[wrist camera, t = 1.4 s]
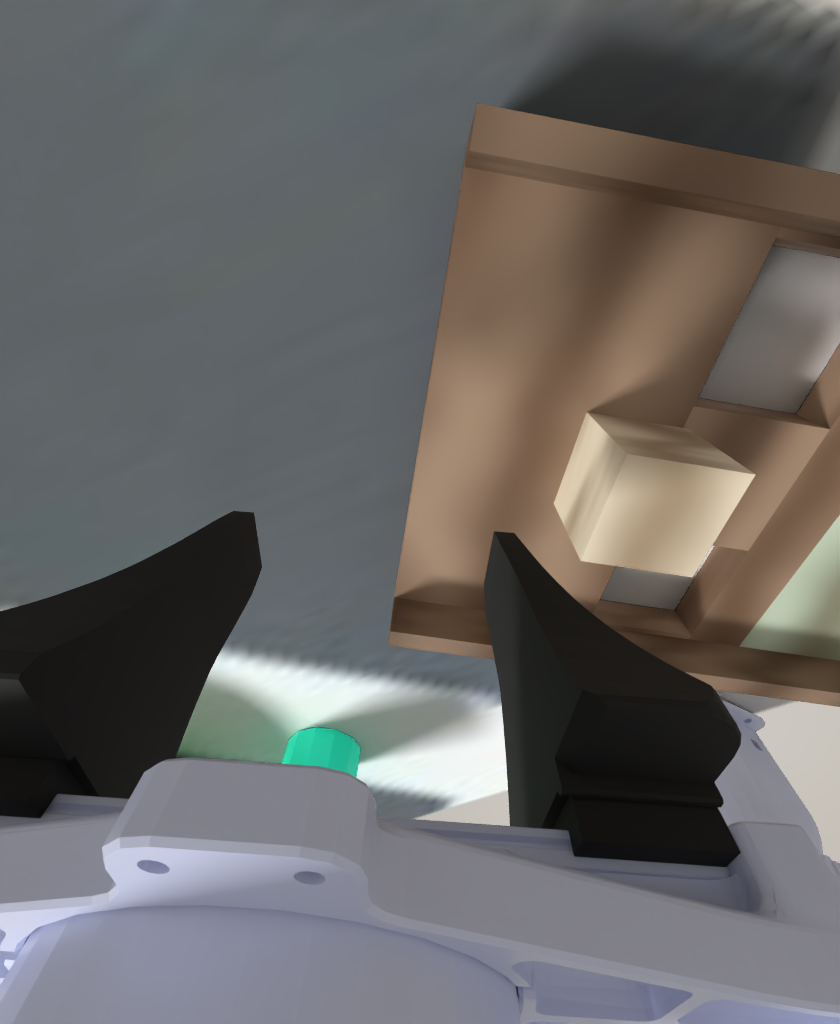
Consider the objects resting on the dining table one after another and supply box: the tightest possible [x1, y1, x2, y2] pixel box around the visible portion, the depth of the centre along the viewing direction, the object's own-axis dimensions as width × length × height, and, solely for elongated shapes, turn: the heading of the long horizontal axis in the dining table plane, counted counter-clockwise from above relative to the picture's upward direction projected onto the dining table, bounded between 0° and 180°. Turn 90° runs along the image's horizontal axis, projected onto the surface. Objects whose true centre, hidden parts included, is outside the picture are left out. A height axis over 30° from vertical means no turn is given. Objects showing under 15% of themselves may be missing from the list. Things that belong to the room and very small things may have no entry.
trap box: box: [388, 103, 840, 707], centre depth 19 cm, size 28×21×5 cm
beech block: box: [554, 412, 756, 578], centre depth 17 cm, size 4×4×4 cm
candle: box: [282, 727, 361, 778], centre depth 30 cm, size 6×6×12 cm
